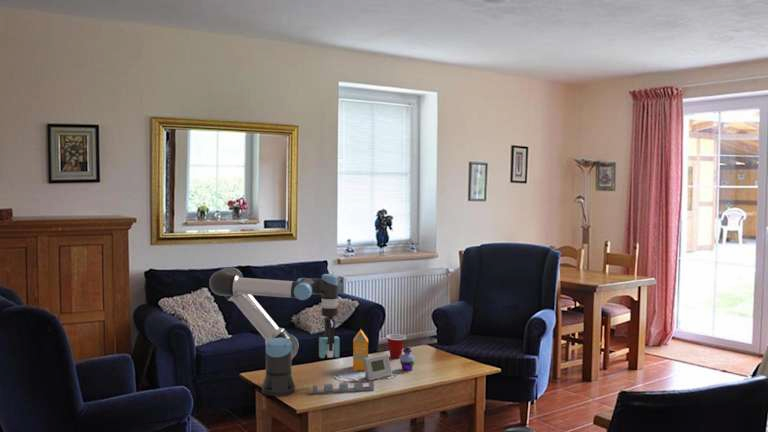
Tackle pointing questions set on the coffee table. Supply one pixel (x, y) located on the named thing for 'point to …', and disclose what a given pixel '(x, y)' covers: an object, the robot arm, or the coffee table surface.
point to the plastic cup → (395, 345)
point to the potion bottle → (407, 359)
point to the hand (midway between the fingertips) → (329, 355)
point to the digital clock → (377, 366)
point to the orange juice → (360, 350)
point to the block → (323, 346)
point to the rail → (343, 388)
